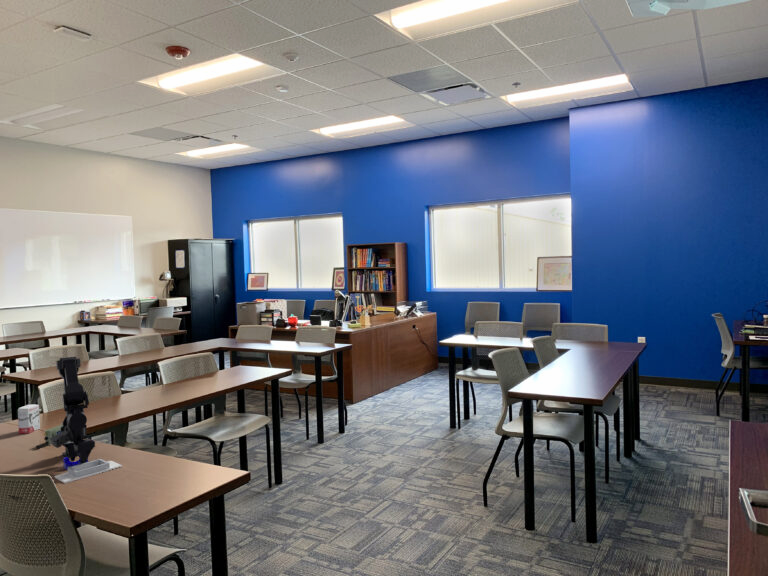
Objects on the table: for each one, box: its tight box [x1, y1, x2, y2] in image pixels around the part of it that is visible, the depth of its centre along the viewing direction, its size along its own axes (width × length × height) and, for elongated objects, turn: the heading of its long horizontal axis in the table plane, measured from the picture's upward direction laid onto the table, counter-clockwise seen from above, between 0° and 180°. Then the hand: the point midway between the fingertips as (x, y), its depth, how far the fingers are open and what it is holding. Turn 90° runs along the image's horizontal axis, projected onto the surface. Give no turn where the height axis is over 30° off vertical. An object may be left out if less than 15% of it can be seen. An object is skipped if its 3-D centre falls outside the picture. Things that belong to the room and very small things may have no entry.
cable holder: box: [62, 456, 89, 471], centre depth 214 cm, size 8×4×4 cm, turn 134°
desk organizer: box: [54, 458, 123, 484], centre depth 207 cm, size 9×20×3 cm, turn 140°
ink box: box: [17, 404, 41, 435], centre depth 264 cm, size 9×5×12 cm, turn 179°
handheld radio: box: [35, 424, 62, 449], centre depth 248 cm, size 7×3×25 cm
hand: (77, 463), depth 214 cm, fingers open, 9 cm apart
